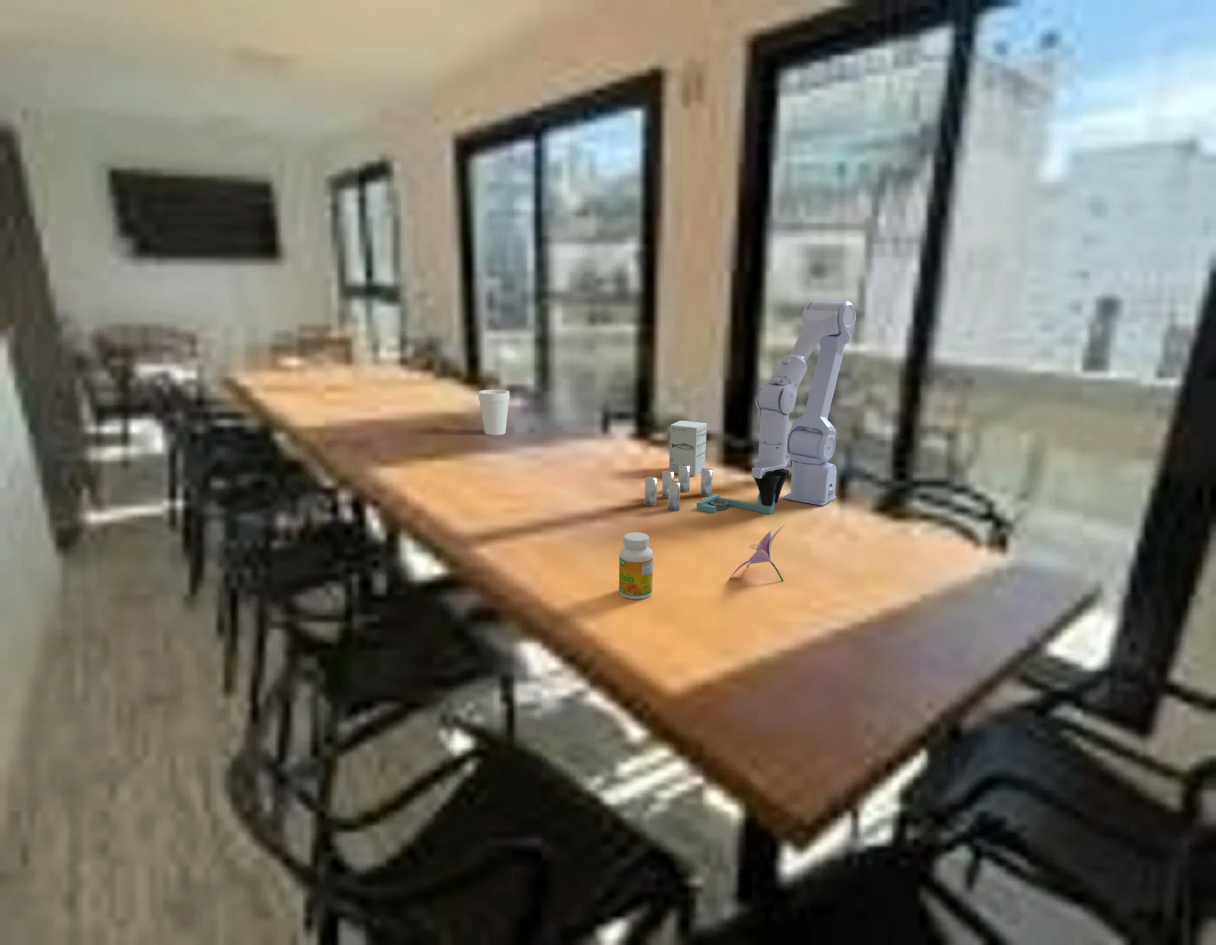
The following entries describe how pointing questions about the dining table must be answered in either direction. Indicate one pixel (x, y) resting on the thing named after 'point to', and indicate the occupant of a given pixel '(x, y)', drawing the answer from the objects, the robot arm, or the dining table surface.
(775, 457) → the robot arm
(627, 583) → the supplement bottle
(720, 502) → the grey flat hexagonal block
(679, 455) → the supplement box
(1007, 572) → the dining table surface
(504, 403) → the foam cup
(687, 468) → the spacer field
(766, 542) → the lily
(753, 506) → the hook tool
